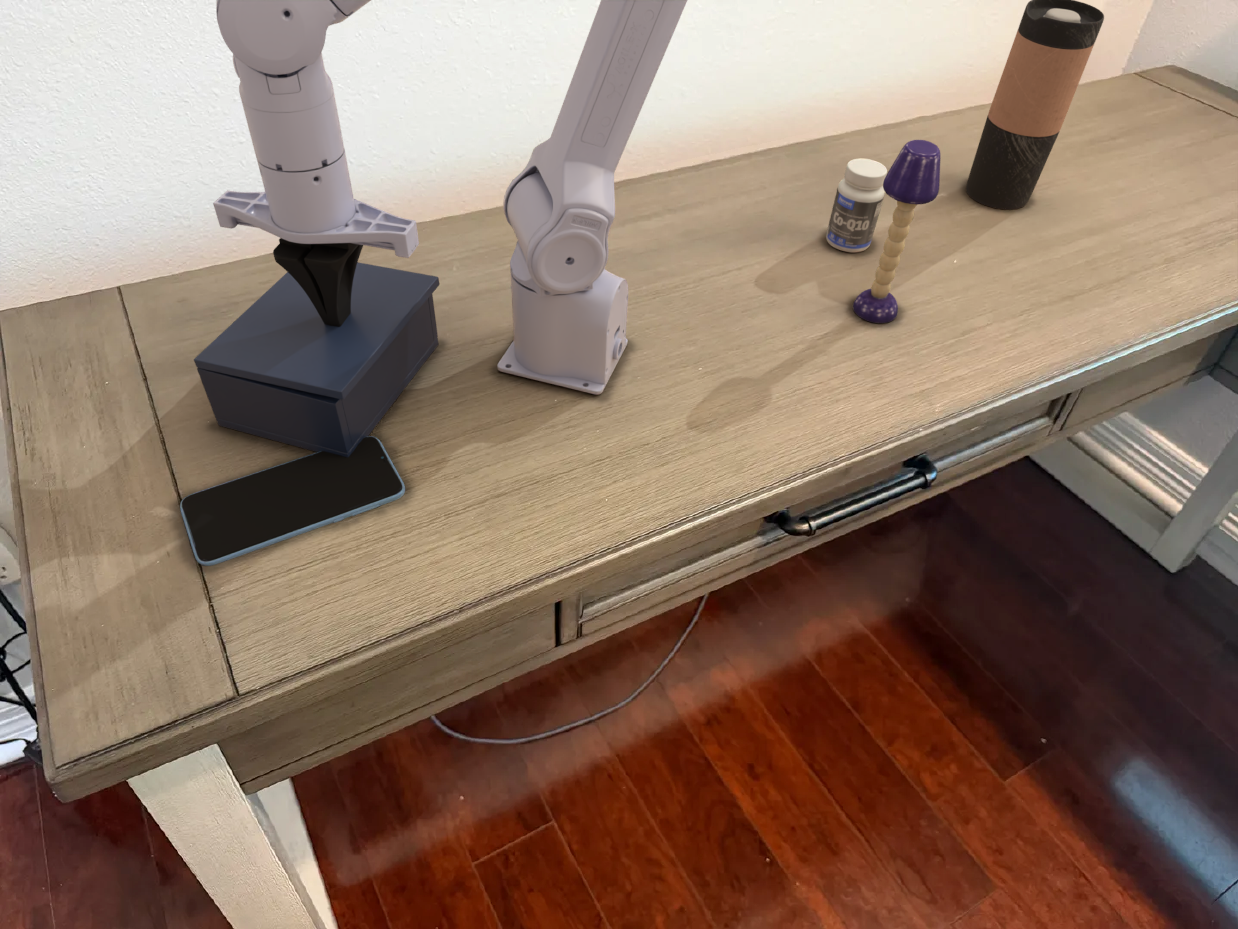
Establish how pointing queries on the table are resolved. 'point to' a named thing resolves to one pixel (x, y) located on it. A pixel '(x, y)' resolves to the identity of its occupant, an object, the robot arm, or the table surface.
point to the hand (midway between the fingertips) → (337, 318)
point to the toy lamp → (900, 222)
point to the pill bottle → (857, 205)
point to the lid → (318, 333)
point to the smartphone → (288, 501)
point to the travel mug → (1032, 100)
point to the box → (320, 416)
